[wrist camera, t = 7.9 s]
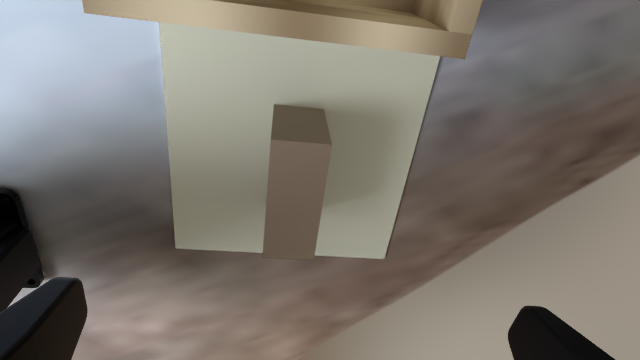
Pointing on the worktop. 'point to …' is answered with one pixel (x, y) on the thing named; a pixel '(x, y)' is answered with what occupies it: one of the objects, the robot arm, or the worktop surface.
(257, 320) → the worktop surface
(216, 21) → the box
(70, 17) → the worktop surface
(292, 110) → the lid
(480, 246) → the worktop surface
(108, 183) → the worktop surface
